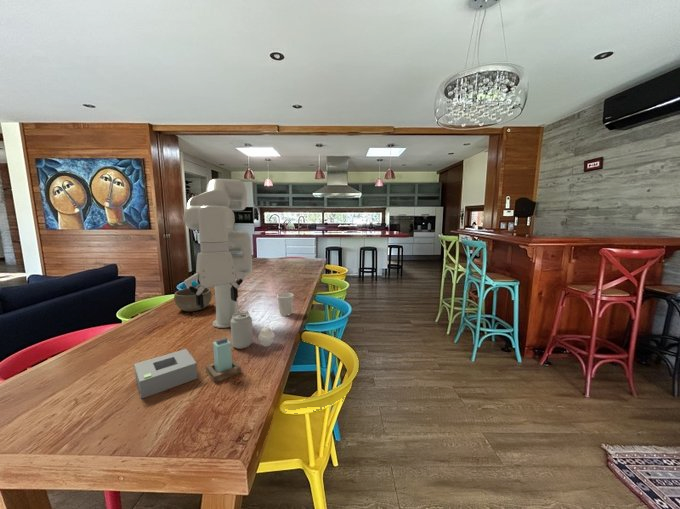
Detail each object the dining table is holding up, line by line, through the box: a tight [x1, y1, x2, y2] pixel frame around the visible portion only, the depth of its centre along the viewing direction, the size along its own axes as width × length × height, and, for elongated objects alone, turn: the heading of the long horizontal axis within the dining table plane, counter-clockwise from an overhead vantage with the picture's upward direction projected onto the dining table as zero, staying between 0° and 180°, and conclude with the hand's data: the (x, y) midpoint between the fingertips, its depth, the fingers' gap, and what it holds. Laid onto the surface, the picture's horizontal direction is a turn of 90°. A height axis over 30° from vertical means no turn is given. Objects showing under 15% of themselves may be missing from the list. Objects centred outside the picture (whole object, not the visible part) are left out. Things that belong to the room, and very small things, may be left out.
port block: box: [133, 348, 199, 400], centre depth 82 cm, size 14×12×5 cm
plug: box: [212, 337, 233, 373], centre depth 85 cm, size 4×4×11 cm
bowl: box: [173, 286, 213, 312], centre depth 144 cm, size 17×18×10 cm
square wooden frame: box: [205, 357, 242, 384], centre depth 86 cm, size 8×8×2 cm
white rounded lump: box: [257, 326, 275, 347], centre depth 104 cm, size 6×6×7 cm
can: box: [230, 313, 254, 350], centre depth 103 cm, size 8×8×12 cm
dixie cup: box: [276, 292, 294, 316], centre depth 136 cm, size 8×8×10 cm
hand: (218, 303), depth 83 cm, fingers open, 9 cm apart
